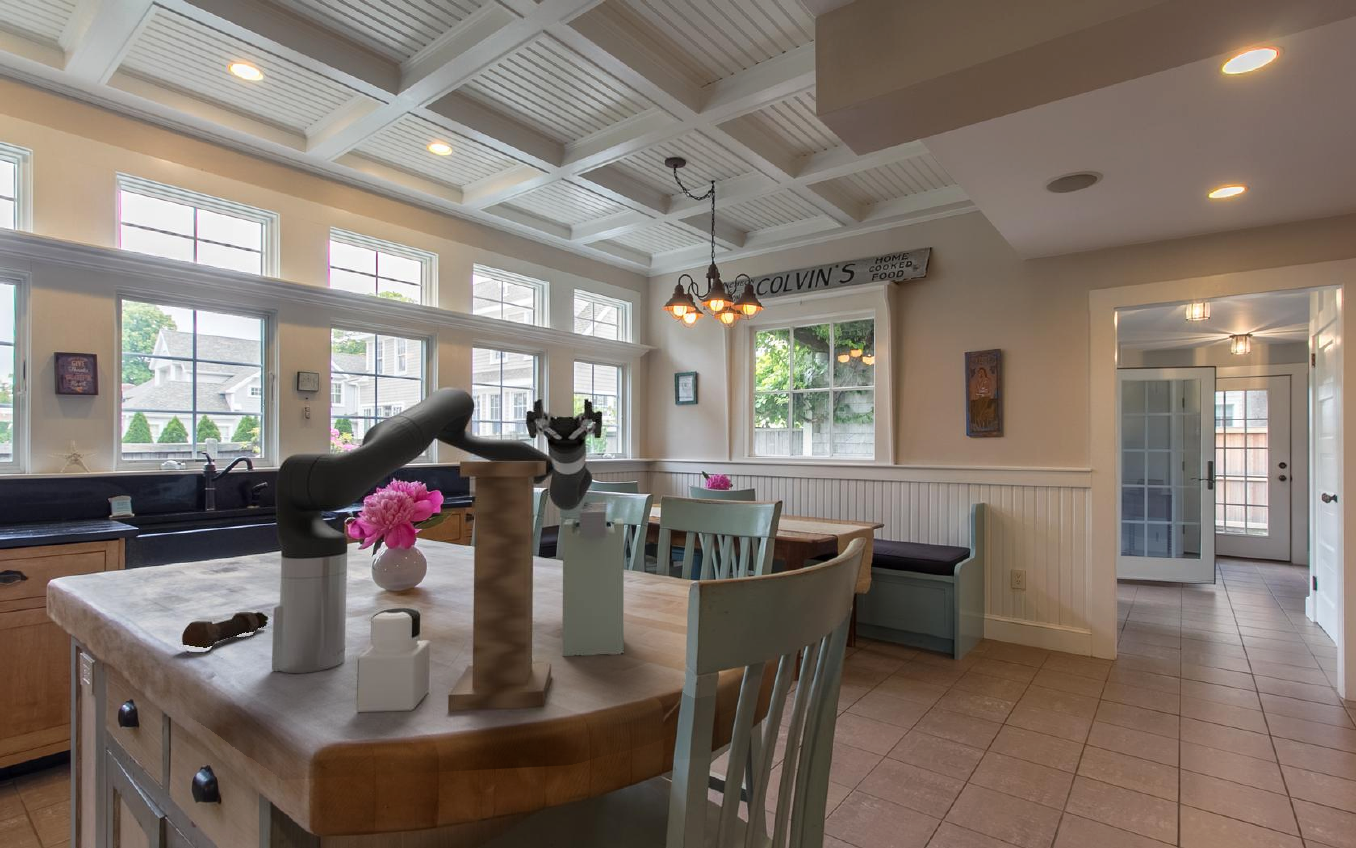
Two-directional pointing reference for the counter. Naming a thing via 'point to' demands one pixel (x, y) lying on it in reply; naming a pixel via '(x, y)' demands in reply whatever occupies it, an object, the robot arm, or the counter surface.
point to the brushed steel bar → (593, 520)
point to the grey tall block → (593, 591)
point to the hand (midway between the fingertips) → (562, 402)
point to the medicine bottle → (393, 663)
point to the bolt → (222, 629)
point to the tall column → (502, 591)
